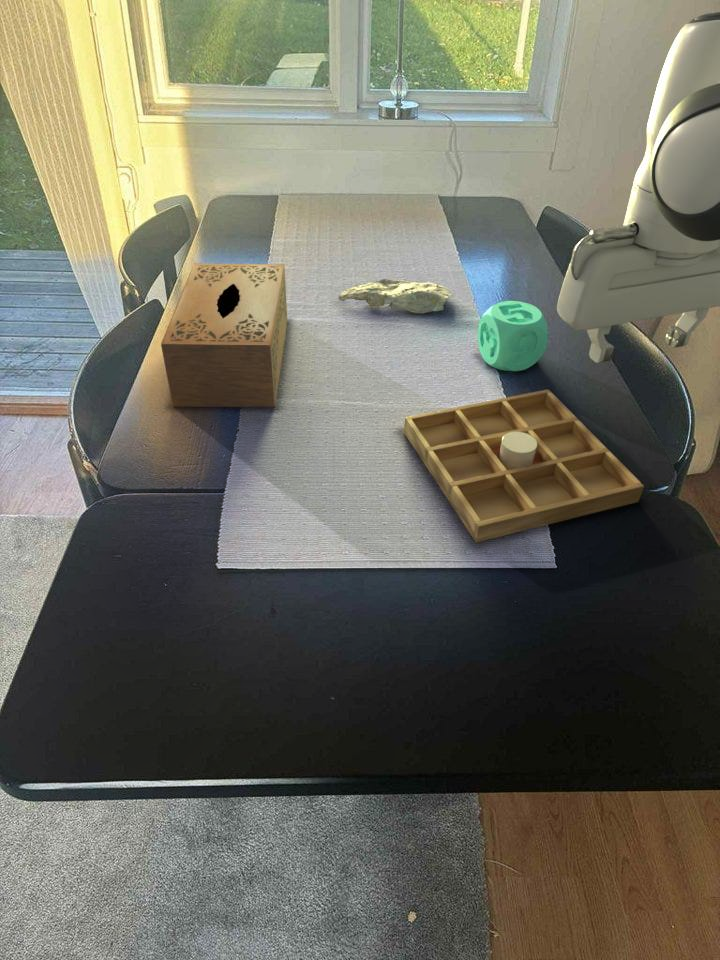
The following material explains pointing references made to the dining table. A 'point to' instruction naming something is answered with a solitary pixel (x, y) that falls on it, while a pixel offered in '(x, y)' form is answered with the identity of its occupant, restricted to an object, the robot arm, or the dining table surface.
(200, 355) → the tissue box cover
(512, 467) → the white cylinder
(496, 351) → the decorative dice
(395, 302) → the rock
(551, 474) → the board
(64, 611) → the dining table surface
